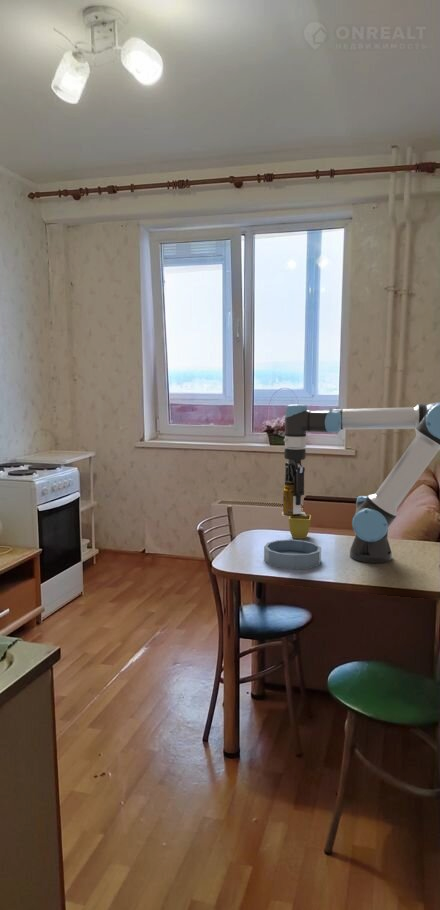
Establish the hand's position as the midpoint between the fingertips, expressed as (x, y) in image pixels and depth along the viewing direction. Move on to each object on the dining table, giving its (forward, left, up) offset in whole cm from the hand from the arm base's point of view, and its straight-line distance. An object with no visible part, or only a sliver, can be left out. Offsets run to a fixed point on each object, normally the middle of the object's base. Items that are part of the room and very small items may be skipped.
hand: (293, 511), depth 210 cm
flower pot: (-14, -30, -18) cm, 38 cm away
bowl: (0, 0, -18) cm, 18 cm away
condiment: (0, 0, -1) cm, 1 cm away
